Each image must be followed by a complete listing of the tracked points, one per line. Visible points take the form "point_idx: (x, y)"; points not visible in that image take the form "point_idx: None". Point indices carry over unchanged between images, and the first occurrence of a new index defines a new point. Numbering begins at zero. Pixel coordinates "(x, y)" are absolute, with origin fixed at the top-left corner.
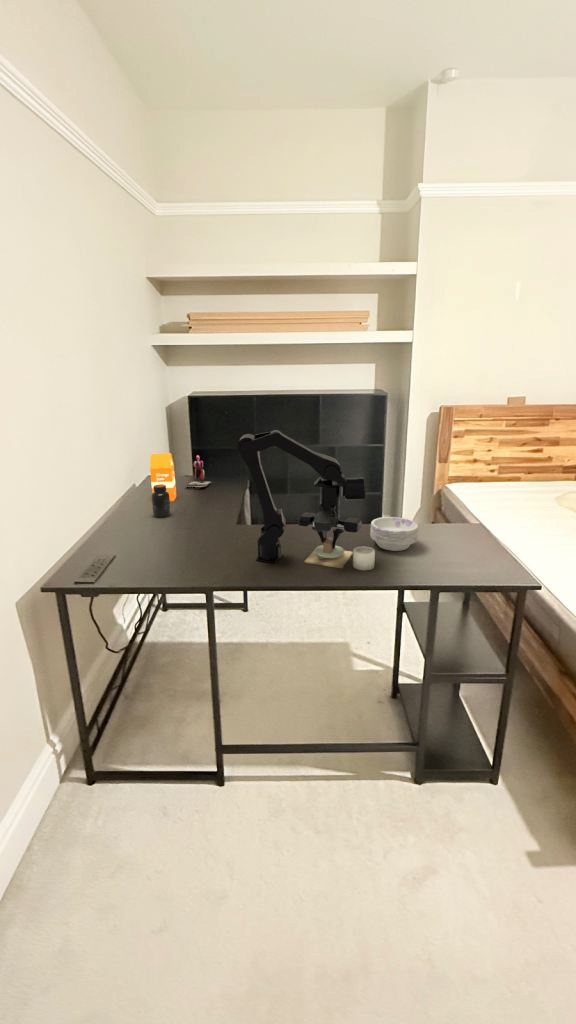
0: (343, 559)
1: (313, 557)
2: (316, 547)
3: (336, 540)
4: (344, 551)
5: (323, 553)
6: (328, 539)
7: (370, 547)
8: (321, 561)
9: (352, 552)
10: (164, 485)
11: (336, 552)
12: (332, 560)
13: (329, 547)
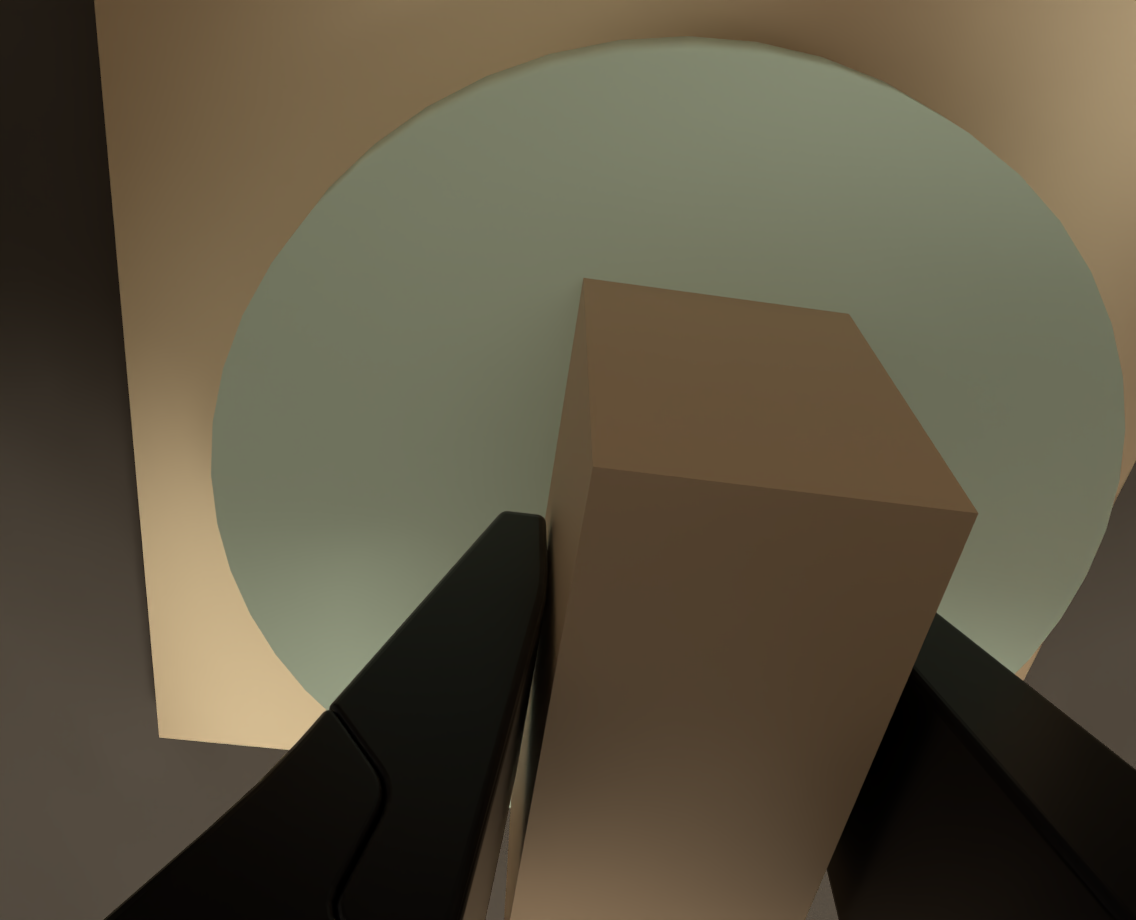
0: (226, 304)
1: None
2: (1056, 622)
3: (331, 720)
4: None
5: (829, 239)
6: (751, 850)
7: None
8: (834, 14)
9: (161, 708)
10: None
11: (407, 408)
12: None
13: (637, 382)
